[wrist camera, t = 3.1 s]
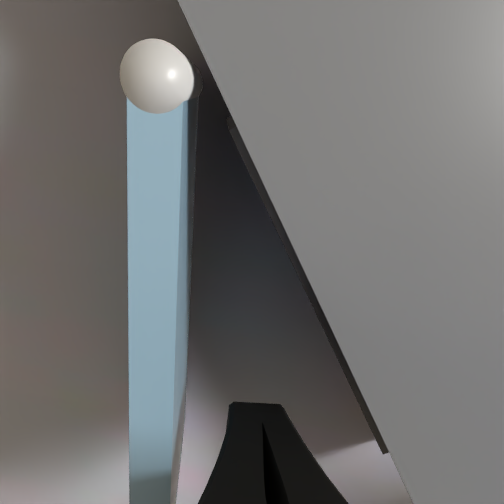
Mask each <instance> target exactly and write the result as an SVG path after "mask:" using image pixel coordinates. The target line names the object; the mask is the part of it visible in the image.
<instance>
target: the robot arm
mask: <svg viewBox="0 0 504 504" xmlns="http://www.w3.org/2000/svg"><path fill="white" fill-rule="evenodd" d="M198 504H348V502H347V501H346V500H345V499H344V497H343V496H342V495H341V494H340V492H339V491H338V490H337V489H336V487H335V486H334V485H333V483H332V482H331V481H330V479H329V478H328V477H327V475H326V474H325V473H324V471H323V470H322V468H321V467H320V466H319V464H318V463H317V461H316V460H315V458H314V457H313V455H312V454H311V452H310V451H309V449H308V448H307V446H306V445H305V443H304V442H303V440H302V438H301V437H300V435H299V434H298V432H297V430H296V429H295V427H294V425H293V424H292V422H291V420H290V418H289V417H288V415H287V413H286V411H285V409H284V408H283V407H282V406H281V404H266V403H248V402H233V403H232V404H230V405H229V411H228V420H227V428H226V434H225V438H224V441H223V444H222V447H221V450H220V453H219V456H218V459H217V462H216V464H215V467H214V469H213V471H212V474H211V476H210V478H209V481H208V483H207V485H206V488H205V490H204V492H203V494H202V496H201V498H200V500H199V502H198Z"/></svg>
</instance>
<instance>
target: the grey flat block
mask: <svg viewBox="0 0 504 504" xmlns="http://www.w3.org/2000/svg"><path fill="white" fill-rule="evenodd" d="M178 2H179V5H180V7H181V9H182V11H183V13H184V15H185V17H186V20H187V22H188V24H189V26H190V28H191V30H192V32H193V34H194V37H195V39H196V41H197V43H198V45H199V47H200V49H201V52H202V54H203V56H204V58H205V60H206V62H207V64H208V67H209V69H210V71H211V73H212V75H213V77H214V79H215V81H216V84H217V86H218V88H219V90H220V92H221V94H222V96H223V99H224V101H225V103H226V105H227V107H228V109H229V111H230V113H231V116H230V117H228V118H226V119H227V124H228V129H229V132H230V134H231V136H232V138H233V140H234V142H235V144H236V146H237V149H238V151H239V153H240V155H241V157H242V159H243V161H244V163H245V165H246V167H247V170H248V172H249V174H250V176H251V178H252V180H253V182H254V184H255V186H256V188H257V191H258V193H259V195H260V197H261V199H262V201H263V203H264V205H265V207H266V210H267V212H268V214H269V216H270V218H271V220H272V222H273V224H274V226H275V228H276V231H277V233H278V235H279V237H280V239H281V241H282V243H283V245H284V247H285V249H286V252H287V254H288V256H289V258H290V260H291V262H292V264H293V266H294V268H295V270H296V273H297V275H298V277H299V279H300V281H301V283H302V285H303V287H304V289H305V291H306V294H307V296H308V298H309V300H310V302H311V304H312V306H313V308H314V310H315V313H316V315H317V317H318V319H319V321H320V323H321V325H322V327H323V329H324V331H325V334H326V336H327V338H328V340H329V342H330V344H331V346H332V348H333V350H334V352H335V355H336V357H337V359H338V361H339V363H340V365H341V367H342V369H343V371H344V373H345V376H346V378H347V380H348V382H349V384H350V386H351V388H352V390H353V392H354V394H355V397H356V399H357V401H358V403H359V405H360V407H361V409H362V411H363V413H364V415H365V418H366V420H367V422H368V424H369V426H370V428H371V430H372V432H373V434H374V437H375V439H376V441H377V443H378V445H379V447H380V449H381V451H382V453H383V454H385V453H388V452H389V453H390V455H391V457H392V459H393V461H394V464H395V466H396V468H397V470H398V472H399V474H400V476H401V479H402V481H403V483H404V485H405V487H406V489H407V491H408V494H409V496H410V498H411V500H412V502H413V504H504V0H178Z"/></svg>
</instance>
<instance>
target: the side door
mask: <svg viewBox="0 0 504 504" xmlns="http://www.w3.org/2000/svg"><path fill="white" fill-rule="evenodd" d="M119 76H120V83H121V86H122V89H123V91H124V93H125V95H126V96H127V203H128V345H129V488H130V504H176V497H177V488H178V479H179V469H180V460H181V451H182V442H183V432H184V423H185V407H186V383H187V359H188V335H189V311H190V287H191V263H192V239H193V215H194V191H195V167H196V143H197V119H198V97H199V95H200V93H201V91H202V88H203V78H202V75H201V72H200V71H199V69H198V68H197V67H196V66H195V65H194V64H193V63H192V62H191V61H190V60H189V59H188V58H187V57H186V56H185V55H184V54H182V53H181V52H180V51H179V50H178V49H177V48H176V47H175V46H173V45H172V44H170V43H168V42H166V41H164V40H161V39H145V40H141V41H139V42H137V43H135V44H134V45H132V46H131V47H130V48H129V49H128V50H127V52H126V53H125V55H124V56H123V59H122V61H121V64H120V72H119Z"/></svg>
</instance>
